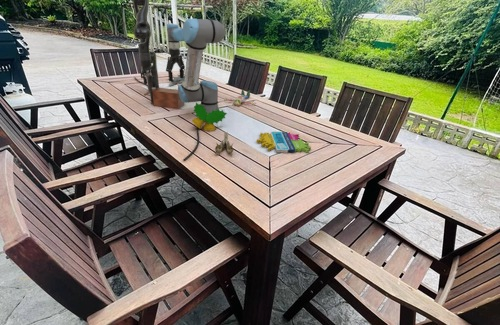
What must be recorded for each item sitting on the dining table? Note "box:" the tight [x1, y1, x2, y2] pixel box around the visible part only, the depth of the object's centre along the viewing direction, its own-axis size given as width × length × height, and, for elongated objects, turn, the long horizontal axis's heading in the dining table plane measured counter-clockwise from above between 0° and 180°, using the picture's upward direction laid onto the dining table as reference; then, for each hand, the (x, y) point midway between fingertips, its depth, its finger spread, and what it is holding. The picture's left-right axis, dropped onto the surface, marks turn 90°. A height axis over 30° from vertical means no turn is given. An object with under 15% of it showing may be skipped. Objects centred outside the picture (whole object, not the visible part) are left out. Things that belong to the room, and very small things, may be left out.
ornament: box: [191, 102, 228, 132], centre depth 162 cm, size 21×8×15 cm, turn 105°
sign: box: [256, 131, 312, 154], centre depth 152 cm, size 26×2×30 cm
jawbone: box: [214, 131, 234, 156], centre depth 136 cm, size 9×15×10 cm
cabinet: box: [152, 87, 185, 110], centre depth 197 cm, size 20×11×12 cm, turn 78°
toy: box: [223, 89, 257, 106], centre depth 219 cm, size 28×7×30 cm
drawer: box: [143, 89, 155, 105], centre depth 198 cm, size 24×9×10 cm, turn 78°
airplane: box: [165, 68, 186, 87], centre depth 265 cm, size 38×32×10 cm
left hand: (148, 82), depth 195 cm, fingers open, 7 cm apart
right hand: (176, 79), depth 194 cm, fingers open, 13 cm apart
